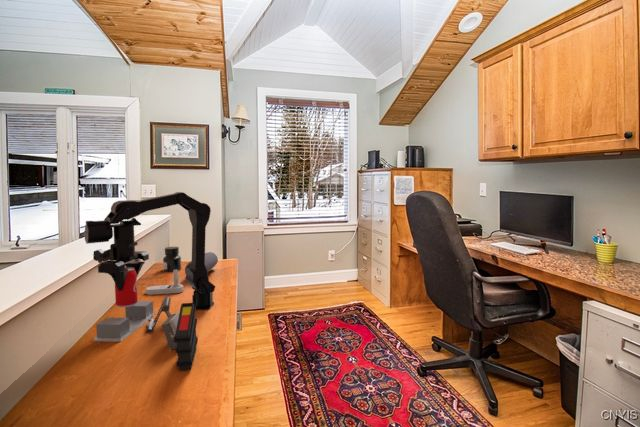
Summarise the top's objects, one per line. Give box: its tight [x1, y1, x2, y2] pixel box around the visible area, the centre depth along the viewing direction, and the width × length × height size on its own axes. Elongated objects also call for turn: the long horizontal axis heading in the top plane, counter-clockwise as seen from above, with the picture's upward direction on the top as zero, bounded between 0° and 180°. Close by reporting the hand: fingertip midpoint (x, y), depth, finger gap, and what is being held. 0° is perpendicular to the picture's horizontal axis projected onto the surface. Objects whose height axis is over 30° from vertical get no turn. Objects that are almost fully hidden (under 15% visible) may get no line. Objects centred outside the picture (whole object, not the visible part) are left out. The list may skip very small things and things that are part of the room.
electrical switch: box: [161, 310, 180, 351], centre depth 99 cm, size 9×5×9 cm, turn 2°
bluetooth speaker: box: [184, 251, 219, 274], centre depth 172 cm, size 23×9×10 cm, turn 178°
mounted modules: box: [95, 300, 154, 338], centre depth 111 cm, size 7×20×4 cm, turn 0°
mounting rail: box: [93, 310, 156, 343], centre depth 111 cm, size 8×21×1 cm, turn 0°
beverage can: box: [114, 266, 139, 308], centre depth 110 cm, size 6×6×12 cm
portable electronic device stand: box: [146, 296, 172, 334], centre depth 111 cm, size 9×8×8 cm
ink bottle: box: [162, 246, 182, 272], centre depth 182 cm, size 10×9×12 cm
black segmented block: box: [174, 302, 199, 372], centre depth 90 cm, size 4×13×15 cm, turn 13°
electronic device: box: [145, 269, 185, 296], centre depth 145 cm, size 5×10×15 cm
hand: (126, 287), depth 110 cm, fingers closed on beverage can, 6 cm apart
